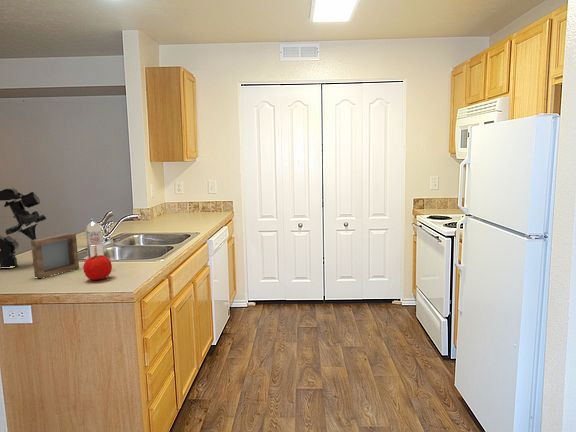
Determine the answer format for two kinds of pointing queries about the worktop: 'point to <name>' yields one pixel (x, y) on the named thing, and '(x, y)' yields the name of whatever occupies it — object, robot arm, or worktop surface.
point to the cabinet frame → (73, 265)
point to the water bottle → (94, 239)
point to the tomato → (97, 267)
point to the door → (55, 254)
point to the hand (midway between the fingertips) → (34, 239)
